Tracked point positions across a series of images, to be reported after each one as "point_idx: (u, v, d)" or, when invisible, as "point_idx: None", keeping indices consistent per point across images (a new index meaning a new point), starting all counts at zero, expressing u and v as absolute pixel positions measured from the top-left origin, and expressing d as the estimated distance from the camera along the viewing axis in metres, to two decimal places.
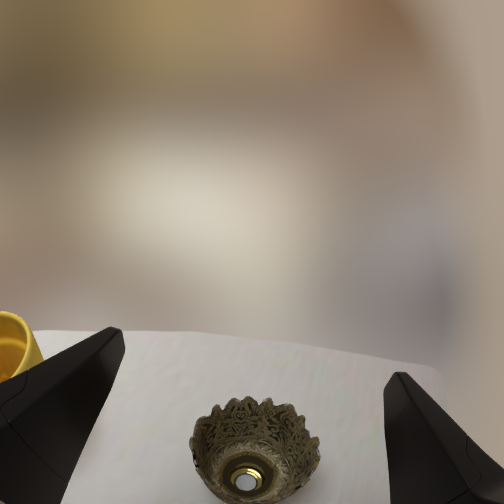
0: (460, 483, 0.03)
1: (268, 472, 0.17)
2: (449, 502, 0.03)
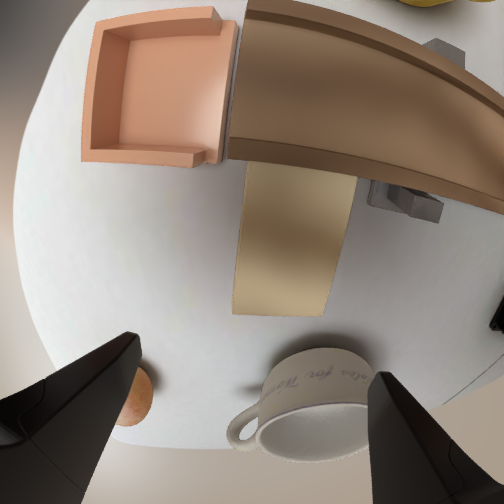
0: (440, 488, 0.03)
1: None
2: None
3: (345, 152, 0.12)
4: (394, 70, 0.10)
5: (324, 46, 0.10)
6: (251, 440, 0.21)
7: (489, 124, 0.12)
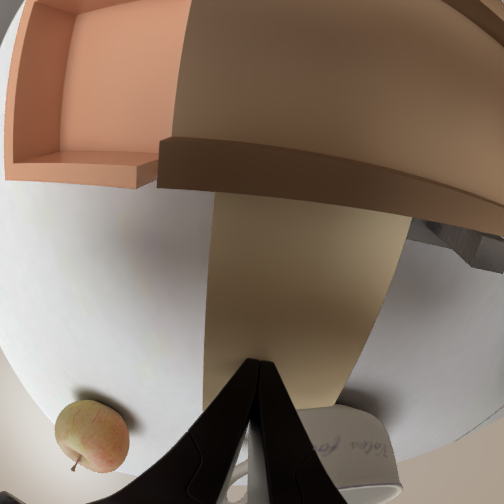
0: None
1: None
2: None
3: (398, 168, 0.06)
4: (466, 36, 0.04)
5: None
6: None
7: None
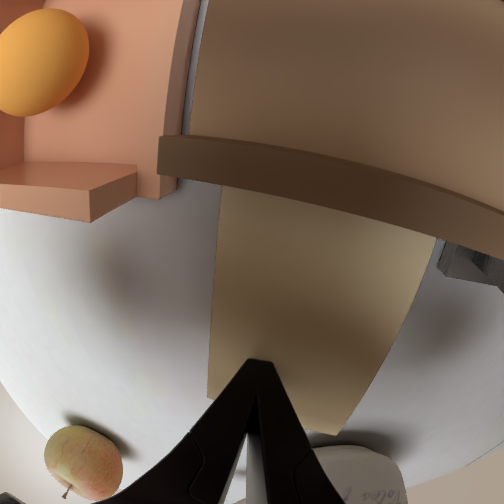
0: None
1: None
2: None
3: (417, 176, 0.05)
4: None
5: None
6: None
7: None
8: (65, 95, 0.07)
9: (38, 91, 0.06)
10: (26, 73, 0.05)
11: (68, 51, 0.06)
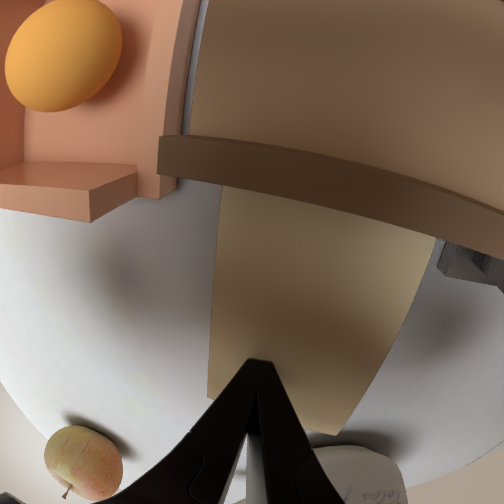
0: None
1: None
2: None
3: (417, 176, 0.05)
4: None
5: None
6: None
7: None
8: None
9: (96, 85, 0.07)
10: (99, 65, 0.06)
11: (120, 52, 0.07)
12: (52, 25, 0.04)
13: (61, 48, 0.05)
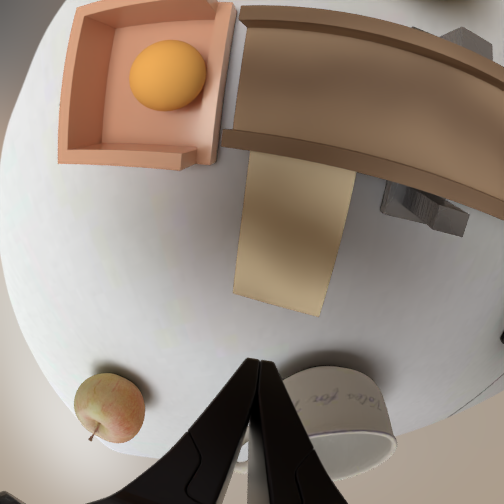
0: None
1: None
2: None
3: (342, 146, 0.12)
4: (397, 62, 0.10)
5: (319, 44, 0.10)
6: None
7: None
8: None
9: None
10: None
11: None
12: (194, 64, 0.11)
13: (197, 79, 0.12)
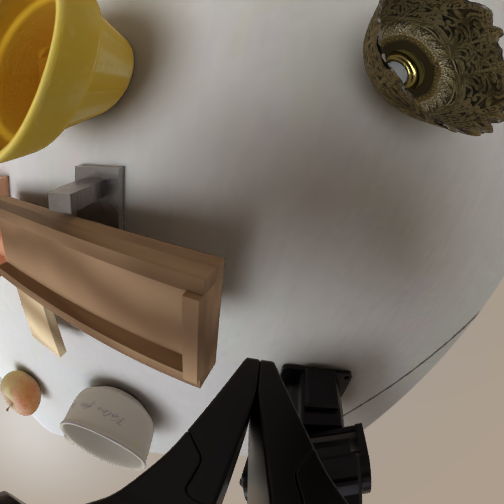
0: None
1: (428, 68, 0.12)
2: None
3: (31, 277, 0.19)
4: None
5: None
6: None
7: (99, 262, 0.15)
8: None
9: None
10: None
11: None
12: None
13: None
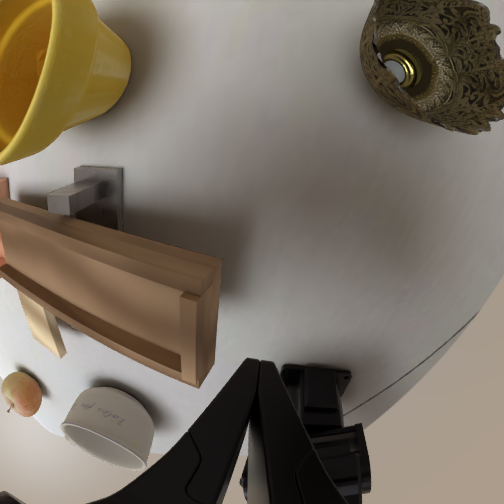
0: None
1: (426, 67, 0.12)
2: None
3: (31, 278, 0.19)
4: None
5: None
6: None
7: (98, 263, 0.15)
8: None
9: None
10: None
11: None
12: None
13: None
